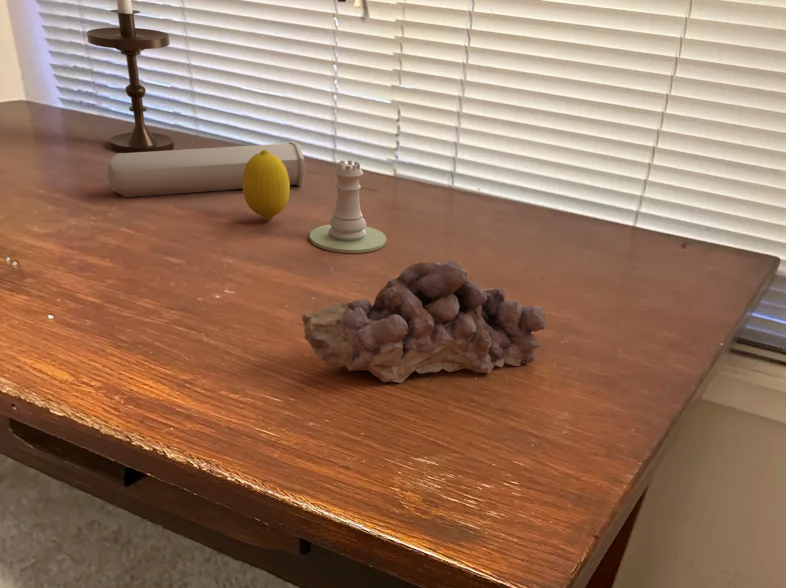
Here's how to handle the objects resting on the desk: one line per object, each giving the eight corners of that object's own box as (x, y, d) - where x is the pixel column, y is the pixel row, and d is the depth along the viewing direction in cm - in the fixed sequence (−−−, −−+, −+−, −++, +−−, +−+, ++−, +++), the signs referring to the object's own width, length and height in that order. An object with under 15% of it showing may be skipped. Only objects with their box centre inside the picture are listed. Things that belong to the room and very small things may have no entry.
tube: (110, 169, 98) (306, 156, 107) (100, 143, 100) (292, 133, 109) (114, 208, 102) (302, 193, 111) (104, 183, 104) (290, 169, 114)
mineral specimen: (496, 268, 76) (535, 214, 67) (535, 366, 76) (581, 327, 66) (291, 329, 71) (302, 280, 62) (332, 435, 71) (350, 402, 61)
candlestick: (101, 155, 116) (49, -169, 94) (107, 136, 124) (60, -166, 102) (180, 156, 118) (147, -160, 96) (180, 137, 126) (150, -159, 104)
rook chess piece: (371, 232, 97) (373, 160, 92) (359, 244, 93) (362, 170, 88) (335, 227, 98) (336, 155, 92) (323, 238, 94) (323, 165, 89)
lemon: (277, 211, 102) (275, 142, 97) (298, 224, 99) (297, 154, 94) (236, 216, 99) (232, 145, 94) (256, 230, 96) (253, 158, 91)
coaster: (306, 250, 92) (306, 247, 92) (312, 224, 99) (312, 221, 99) (386, 255, 92) (386, 252, 92) (386, 229, 99) (386, 225, 99)
